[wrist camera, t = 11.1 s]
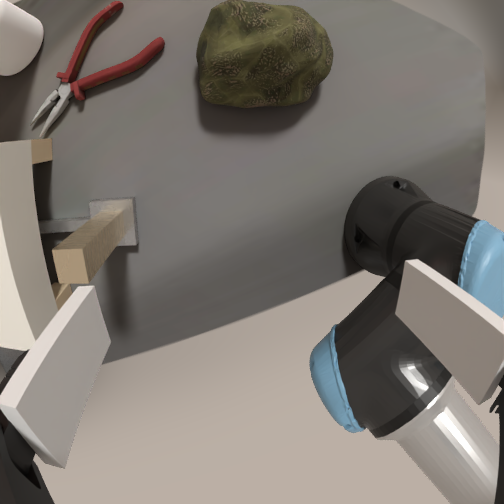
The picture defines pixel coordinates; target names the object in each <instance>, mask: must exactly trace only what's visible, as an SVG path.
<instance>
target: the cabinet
mask: <svg viewBox="0 0 504 504" xmlns="http://www.w3.org/2000/svg"><path fill="white" fill-rule="evenodd" d="M50 160H52V138H50V139H33V140H21V141H10V142H1V143H0V347H5V348H11V349H17V350H23V351H27V350H28V349H31V347H32V346H33V345H34V343H35V342H36V340H37V339H38V338H39V336H40V335H41V334H42V332H43V331H44V330H45V328H46V327H47V326H48V324H49V323H50V322H51V320H52V319H53V318H54V316H55V315H56V314H57V312H58V311H59V310H60V309H61V307H62V306H63V305H64V304H65V302H66V301H67V300H68V299H69V297H70V296H71V295H72V290H71V286H70V283H53V284H52V285H51V283H50V279H49V275H48V271H47V267H46V262H45V257H44V253H43V248H42V243H41V237H40V231H39V225H38V219H37V212H36V204H35V195H34V185H33V173H32V164H36V163H40V162H45V161H50Z"/></svg>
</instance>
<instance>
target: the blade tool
mask: <svg viewBox="0 0 504 504" xmlns="http://www.w3.org/2000/svg"><path fill="white" fill-rule="evenodd" d="M89 207H90V216H91V217H77V218H64V219H52V220H41V221H38V225H39V231H40V234H42V233H57V232H73V231H74V232H73V233H72V234H71V235H69V236H68V237H67V238H66V239H64V240H63V241H62V242H61V243H60V244H58V245H57V246H56V247H55V248H54V249H52V253H53V258H54V263H55V267H56V272H57V276H58V280H59V283H90V281H91V280H92V278H93V277H94V276H95V274H96V273H97V271H98V270H99V269H100V267H101V266H102V265H103V263H104V262H105V261H106V259H107V258H108V257H109V255H110V254H111V253H112V251H113V250H114V249H115V247H116V246H127V245H137V243H138V242H139V240H138V229H137V218H136V204H135V197H123V198H108V199H96V200H92V201H90V202H89Z"/></svg>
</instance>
